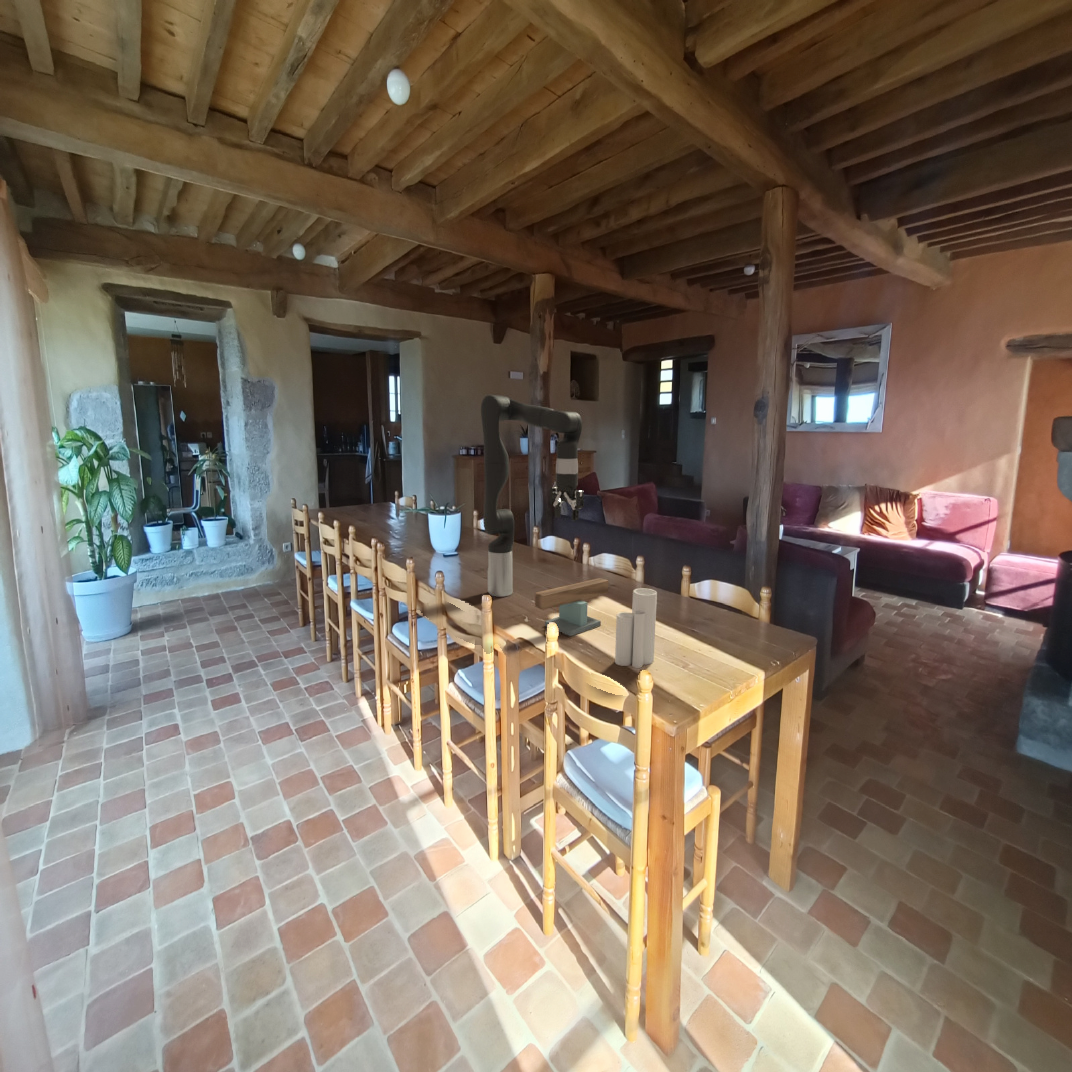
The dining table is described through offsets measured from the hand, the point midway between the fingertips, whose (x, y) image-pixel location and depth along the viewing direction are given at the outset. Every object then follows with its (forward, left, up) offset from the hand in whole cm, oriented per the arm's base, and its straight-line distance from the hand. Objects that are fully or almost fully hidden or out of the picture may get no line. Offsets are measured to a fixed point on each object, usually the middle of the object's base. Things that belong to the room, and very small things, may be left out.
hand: (566, 518), depth 187 cm
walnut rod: (+13, -9, -24) cm, 29 cm away
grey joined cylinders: (+44, -15, -33) cm, 57 cm away
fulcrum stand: (+13, -9, -33) cm, 37 cm away
